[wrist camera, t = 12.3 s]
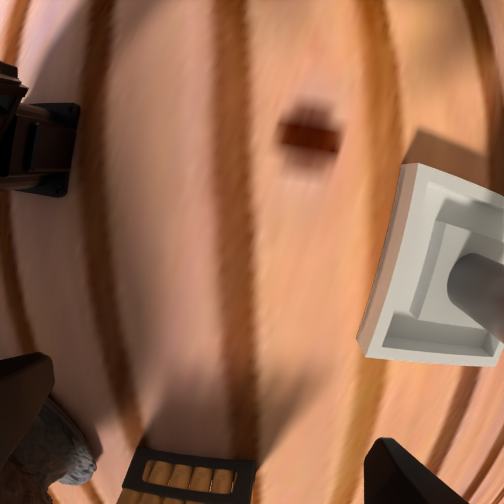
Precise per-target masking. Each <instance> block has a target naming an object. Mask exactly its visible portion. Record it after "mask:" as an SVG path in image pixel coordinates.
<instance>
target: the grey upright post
mask: <svg viewBox="0 0 504 504" xmlns="http://www.w3.org/2000/svg"><path fill="white" fill-rule="evenodd" d="M409 311H410V312H411V313H412V314H413V315H414V316H415V317H416V318H417V319H418V320H423V321H429V322H436V323H443V324H450V325H457V326H464V327H472V328H479V329H486V330H487V331H488V332H490V333H491V334H492V335H493V336H495V337H496V338H497V339H498V340H500V341H501V342H502V343H503V344H504V242H501V241H498V240H496V239H493V238H490V237H487V236H484V235H481V234H478V233H475V232H472V231H469V230H466V229H463V228H460V227H456V226H453V225H450V224H447V223H443V222H440V221H436V220H435V222H434V226H433V230H432V234H431V238H430V242H429V246H428V250H427V254H426V257H425V261H424V264H423V268H422V271H421V275H420V278H419V281H418V285H417V288H416V291H415V294H414V297H413V300H412V303H411V306H410V309H409Z"/></svg>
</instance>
